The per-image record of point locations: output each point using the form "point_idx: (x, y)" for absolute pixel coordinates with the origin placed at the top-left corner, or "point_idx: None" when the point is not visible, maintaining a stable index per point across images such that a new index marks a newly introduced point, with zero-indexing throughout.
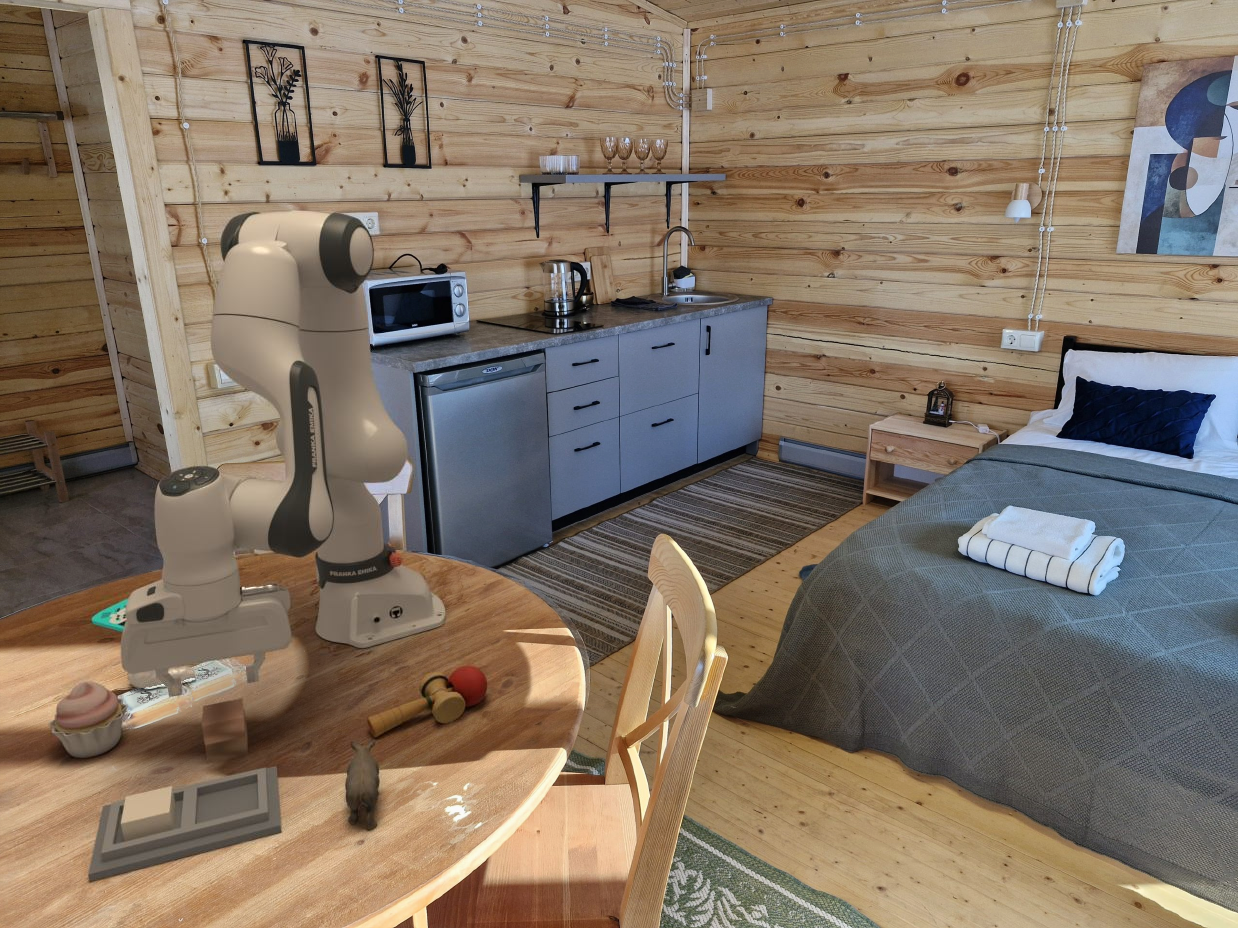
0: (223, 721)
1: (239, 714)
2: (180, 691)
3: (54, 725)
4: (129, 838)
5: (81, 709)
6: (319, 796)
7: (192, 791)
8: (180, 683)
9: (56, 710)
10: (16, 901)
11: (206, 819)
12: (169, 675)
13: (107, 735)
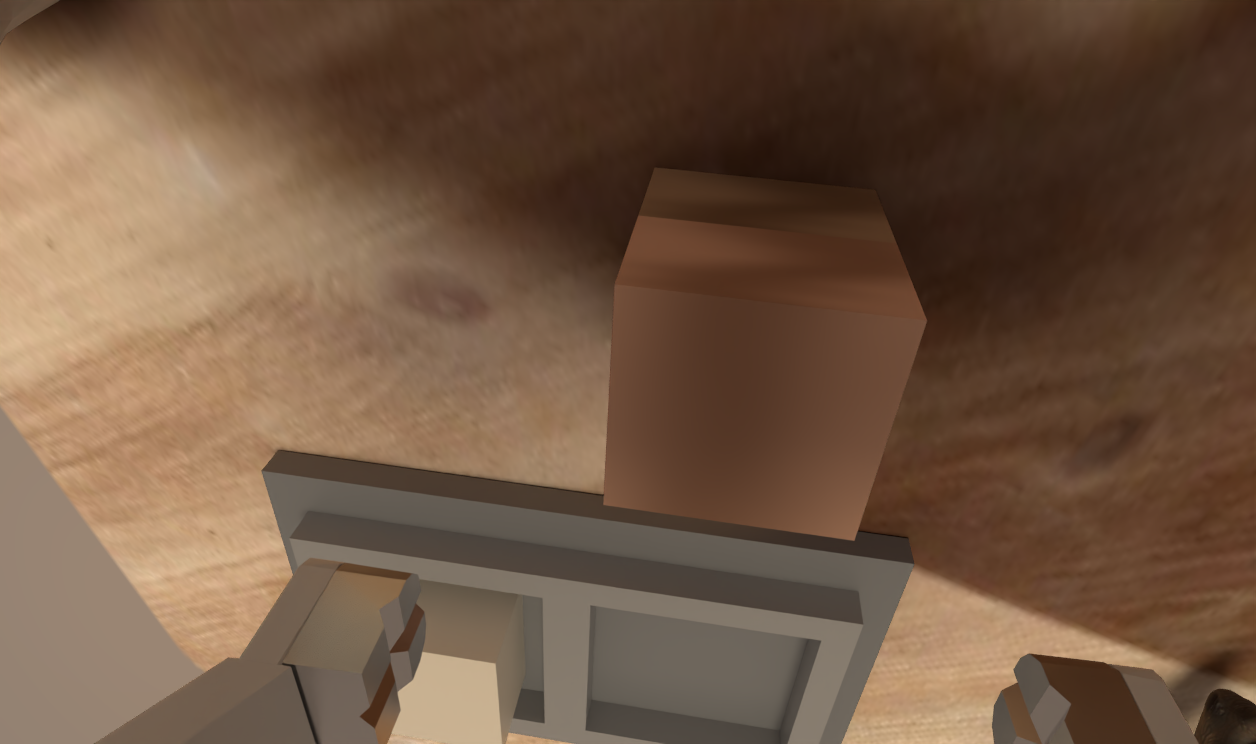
0: (733, 520)
1: (843, 504)
2: (409, 680)
3: None
4: None
5: None
6: (991, 697)
7: (574, 611)
8: (383, 669)
9: None
10: (186, 645)
11: (621, 671)
12: (229, 736)
13: (19, 19)
